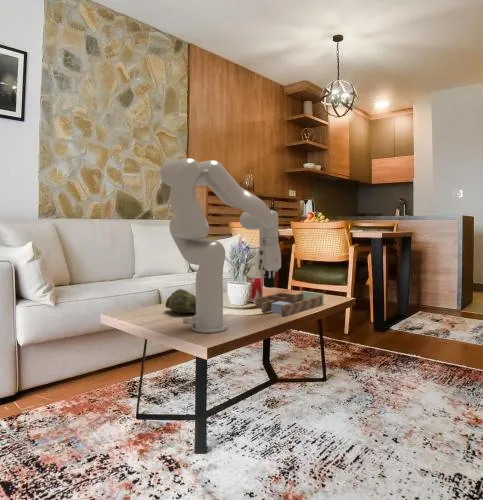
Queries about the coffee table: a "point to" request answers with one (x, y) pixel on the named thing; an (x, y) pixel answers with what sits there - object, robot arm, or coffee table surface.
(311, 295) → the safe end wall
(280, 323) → the coffee table surface
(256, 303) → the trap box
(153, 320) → the coffee table surface
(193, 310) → the decorative rock
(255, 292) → the soda can
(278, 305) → the block
